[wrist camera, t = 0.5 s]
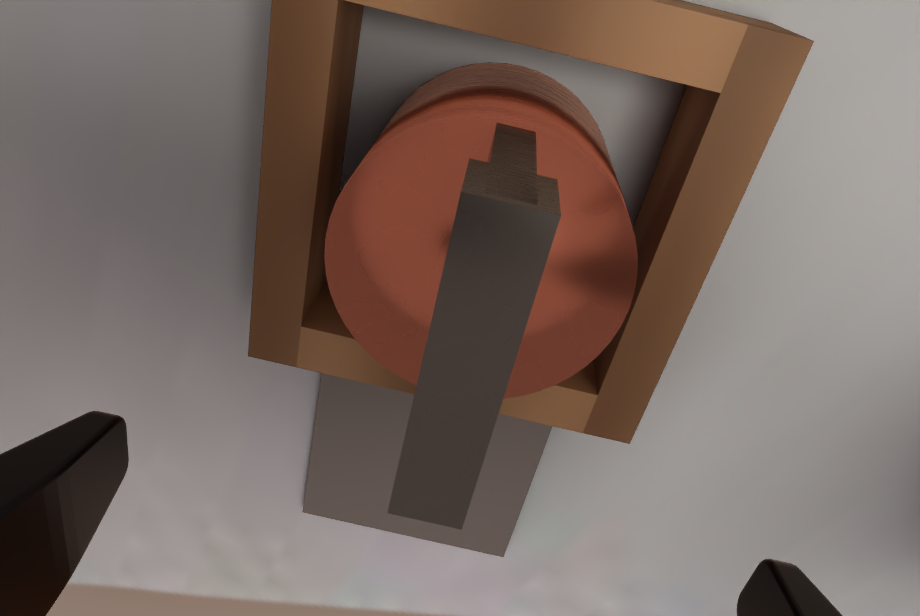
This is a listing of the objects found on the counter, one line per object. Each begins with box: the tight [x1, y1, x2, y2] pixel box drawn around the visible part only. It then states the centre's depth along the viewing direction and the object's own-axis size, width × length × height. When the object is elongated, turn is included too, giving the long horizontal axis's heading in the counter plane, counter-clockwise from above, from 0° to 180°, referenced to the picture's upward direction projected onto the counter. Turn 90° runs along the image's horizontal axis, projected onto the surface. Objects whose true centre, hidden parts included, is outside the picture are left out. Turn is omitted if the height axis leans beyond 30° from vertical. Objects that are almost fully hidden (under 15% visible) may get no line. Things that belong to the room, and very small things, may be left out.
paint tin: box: [324, 63, 638, 530], centre depth 16 cm, size 7×7×10 cm
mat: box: [303, 373, 552, 557], centre depth 26 cm, size 8×8×1 cm
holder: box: [248, 0, 814, 444], centre depth 19 cm, size 12×12×3 cm
